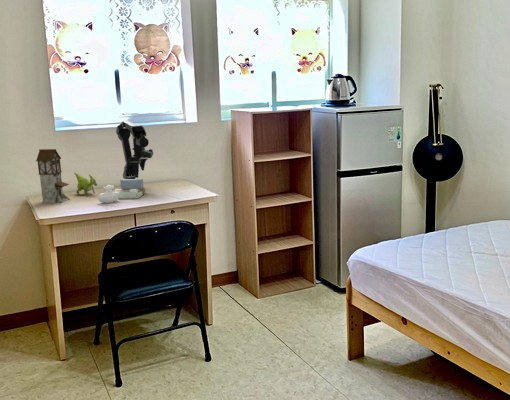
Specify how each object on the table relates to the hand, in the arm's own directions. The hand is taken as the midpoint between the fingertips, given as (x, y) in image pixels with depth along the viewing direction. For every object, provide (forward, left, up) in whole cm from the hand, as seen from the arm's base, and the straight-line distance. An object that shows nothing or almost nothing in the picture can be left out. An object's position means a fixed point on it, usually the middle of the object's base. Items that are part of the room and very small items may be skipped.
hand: (140, 171), depth 335 cm
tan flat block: (+7, -4, -12) cm, 15 cm away
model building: (+26, -42, -13) cm, 51 cm away
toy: (+6, -33, -13) cm, 36 cm away
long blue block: (+5, -4, -10) cm, 11 cm away
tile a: (+13, -9, -10) cm, 19 cm away
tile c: (+14, +1, -10) cm, 17 cm away
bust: (+30, -8, -13) cm, 34 cm away
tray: (+16, -4, -12) cm, 20 cm away
